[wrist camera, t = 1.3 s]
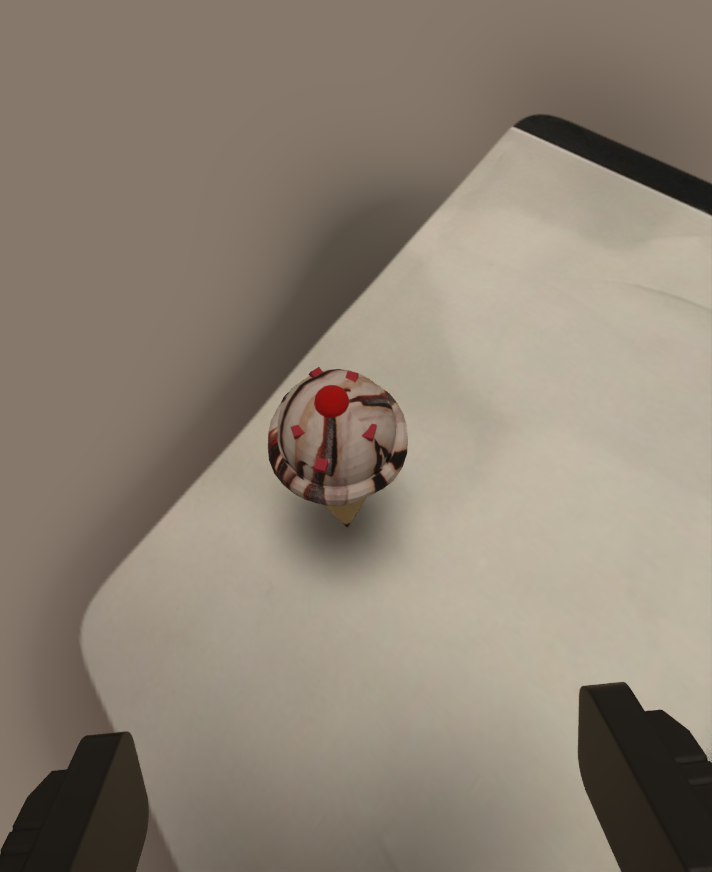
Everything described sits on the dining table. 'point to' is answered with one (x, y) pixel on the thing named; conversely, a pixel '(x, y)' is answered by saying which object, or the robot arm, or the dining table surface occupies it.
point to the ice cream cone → (337, 440)
